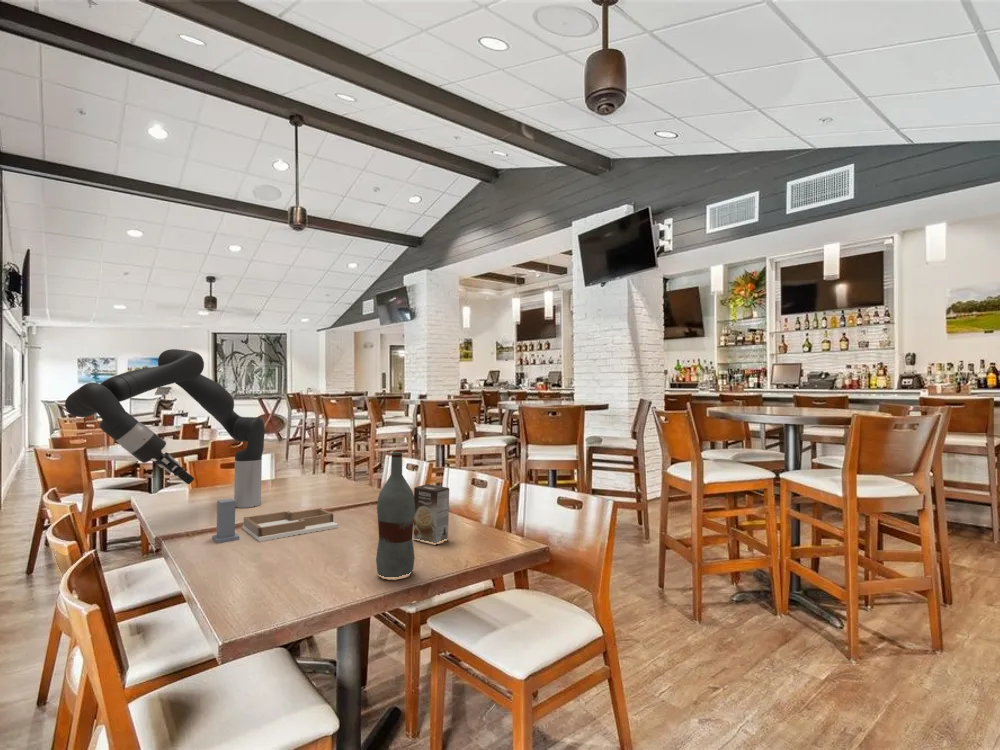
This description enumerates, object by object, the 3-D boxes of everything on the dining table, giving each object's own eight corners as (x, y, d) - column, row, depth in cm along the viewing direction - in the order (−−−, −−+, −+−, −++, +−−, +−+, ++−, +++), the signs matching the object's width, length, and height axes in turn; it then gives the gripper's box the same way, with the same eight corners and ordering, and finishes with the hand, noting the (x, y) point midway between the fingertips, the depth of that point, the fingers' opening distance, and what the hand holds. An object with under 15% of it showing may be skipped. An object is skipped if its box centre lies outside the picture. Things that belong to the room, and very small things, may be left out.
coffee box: (411, 540, 158) (412, 487, 159) (425, 535, 164) (426, 483, 164) (435, 546, 153) (436, 490, 154) (449, 540, 159) (450, 487, 159)
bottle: (379, 584, 125) (381, 456, 125) (372, 571, 133) (374, 451, 133) (418, 578, 128) (420, 454, 129) (409, 566, 137) (411, 449, 137)
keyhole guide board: (242, 528, 169) (242, 516, 169) (316, 516, 185) (316, 506, 185) (259, 541, 156) (259, 529, 156) (337, 527, 171) (338, 516, 171)
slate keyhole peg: (212, 538, 158) (212, 500, 158) (233, 535, 162) (234, 497, 162) (216, 543, 154) (217, 503, 154) (239, 539, 158) (239, 500, 158)
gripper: (156, 433, 141) (204, 472, 148) (149, 429, 152) (194, 465, 159) (132, 455, 137) (182, 494, 145) (126, 449, 148) (173, 485, 155)
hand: (188, 479), depth 152 cm, fingers open, 8 cm apart
